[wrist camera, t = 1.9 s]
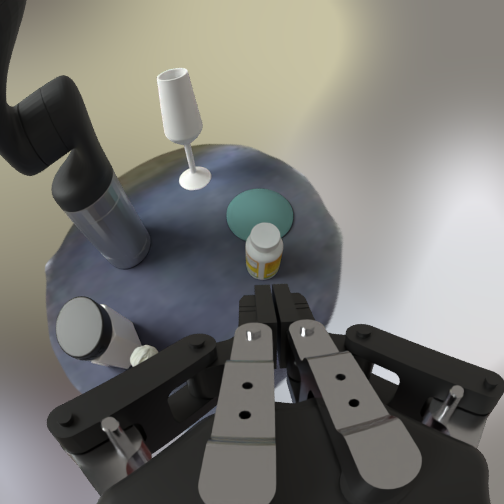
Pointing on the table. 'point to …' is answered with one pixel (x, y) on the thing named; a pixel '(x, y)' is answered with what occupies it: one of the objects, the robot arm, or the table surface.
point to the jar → (96, 333)
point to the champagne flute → (182, 121)
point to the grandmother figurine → (142, 354)
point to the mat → (258, 212)
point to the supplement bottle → (263, 251)
